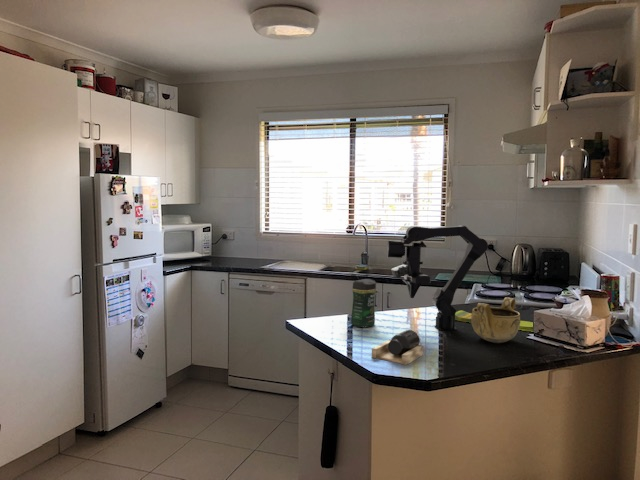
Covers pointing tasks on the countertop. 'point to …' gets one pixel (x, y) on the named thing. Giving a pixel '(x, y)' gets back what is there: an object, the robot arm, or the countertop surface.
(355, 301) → the coffee jar
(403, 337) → the supplement bottle
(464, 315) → the dish towel
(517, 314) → the ceramic bowl
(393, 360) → the cradle
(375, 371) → the countertop surface
